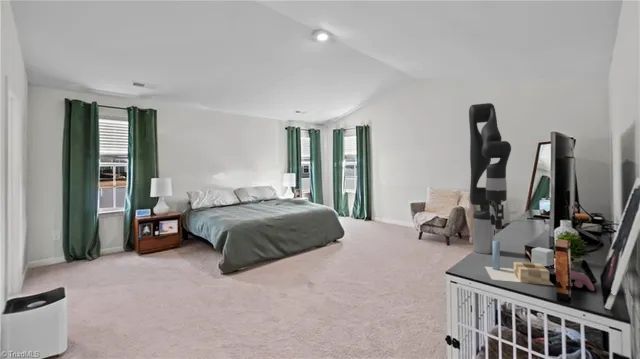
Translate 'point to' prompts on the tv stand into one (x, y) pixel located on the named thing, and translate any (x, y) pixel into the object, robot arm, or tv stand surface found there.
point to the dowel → (496, 255)
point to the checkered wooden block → (531, 273)
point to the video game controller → (581, 280)
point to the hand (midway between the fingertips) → (496, 226)
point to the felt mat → (504, 274)
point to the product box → (543, 256)
